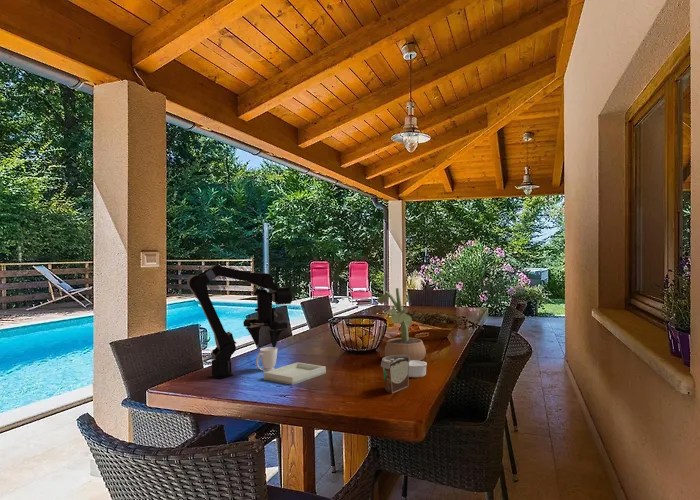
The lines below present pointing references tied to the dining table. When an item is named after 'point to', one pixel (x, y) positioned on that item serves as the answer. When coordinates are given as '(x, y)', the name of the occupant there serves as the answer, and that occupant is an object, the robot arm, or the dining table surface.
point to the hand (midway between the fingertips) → (265, 346)
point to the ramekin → (417, 368)
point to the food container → (395, 372)
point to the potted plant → (402, 332)
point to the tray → (294, 373)
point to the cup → (267, 358)
